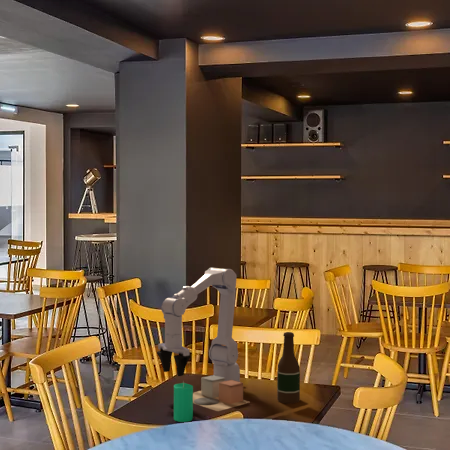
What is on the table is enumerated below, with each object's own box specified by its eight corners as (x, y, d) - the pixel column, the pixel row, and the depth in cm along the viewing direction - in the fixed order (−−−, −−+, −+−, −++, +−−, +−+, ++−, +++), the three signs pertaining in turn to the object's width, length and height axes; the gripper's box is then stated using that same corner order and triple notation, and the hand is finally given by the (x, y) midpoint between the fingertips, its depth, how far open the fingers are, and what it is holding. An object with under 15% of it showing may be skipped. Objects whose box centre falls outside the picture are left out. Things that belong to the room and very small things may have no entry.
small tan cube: (231, 397, 237) (231, 379, 236) (243, 400, 232) (243, 382, 232) (218, 400, 233) (218, 382, 232) (230, 403, 228) (230, 386, 228)
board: (207, 391, 246) (207, 388, 246) (250, 405, 230) (250, 401, 230) (174, 399, 236) (174, 396, 236) (217, 414, 220) (217, 410, 220)
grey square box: (213, 391, 243) (213, 374, 243) (224, 395, 239) (224, 377, 239) (201, 394, 239) (201, 377, 239) (212, 398, 235) (212, 380, 235)
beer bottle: (302, 401, 235) (302, 331, 235) (297, 407, 228) (297, 335, 227) (280, 399, 238) (280, 329, 237) (274, 405, 230) (274, 334, 230)
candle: (173, 416, 218) (173, 378, 218) (192, 415, 219) (192, 378, 218) (173, 422, 212) (173, 383, 212) (193, 421, 213) (193, 383, 213)
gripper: (151, 332, 235) (151, 371, 235) (177, 338, 224) (177, 379, 225) (167, 329, 239) (167, 368, 240) (194, 335, 229) (194, 376, 229)
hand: (173, 373), depth 233 cm, fingers open, 7 cm apart
